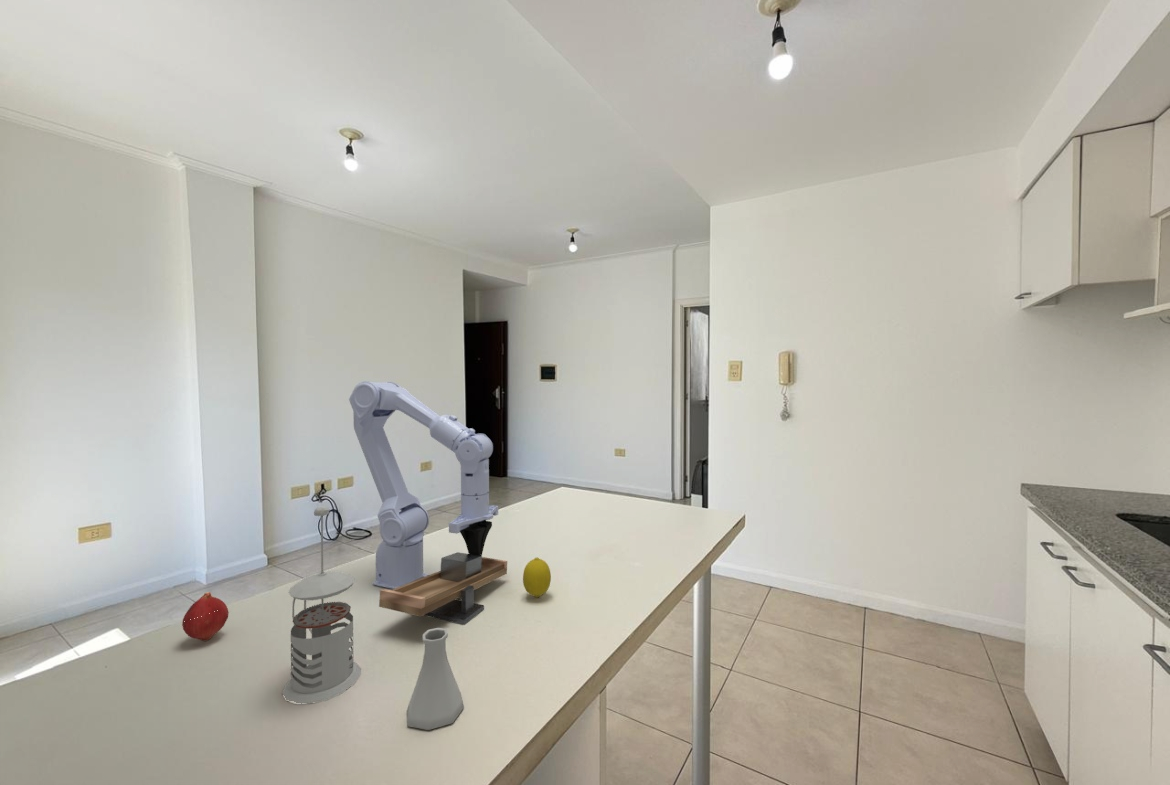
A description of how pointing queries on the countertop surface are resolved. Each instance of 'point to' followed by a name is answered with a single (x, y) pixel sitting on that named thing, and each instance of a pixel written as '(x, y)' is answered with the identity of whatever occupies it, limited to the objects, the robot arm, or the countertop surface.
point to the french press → (321, 637)
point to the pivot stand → (458, 608)
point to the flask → (434, 686)
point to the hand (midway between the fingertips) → (475, 557)
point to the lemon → (536, 577)
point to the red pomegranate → (205, 617)
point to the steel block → (460, 566)
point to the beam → (437, 589)
